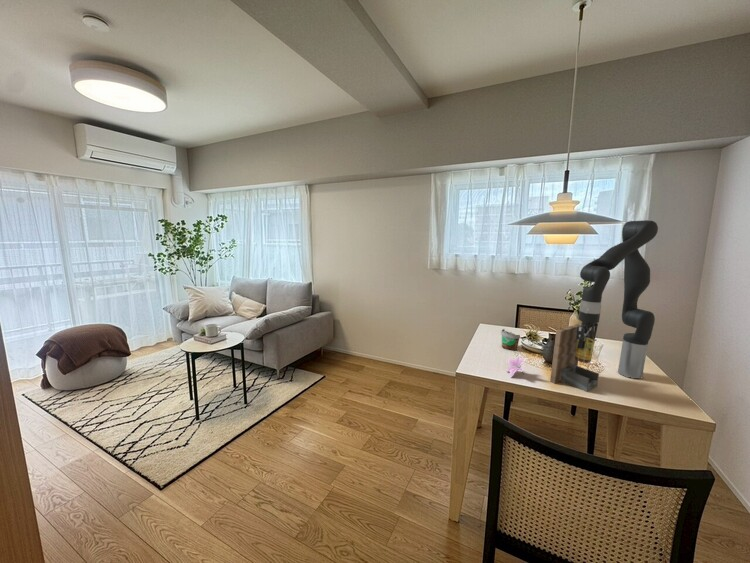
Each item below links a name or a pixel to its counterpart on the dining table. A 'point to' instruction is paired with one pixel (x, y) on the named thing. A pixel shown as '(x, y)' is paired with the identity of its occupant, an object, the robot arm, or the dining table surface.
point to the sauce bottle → (586, 347)
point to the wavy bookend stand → (570, 362)
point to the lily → (515, 365)
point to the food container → (509, 340)
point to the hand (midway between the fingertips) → (584, 346)
